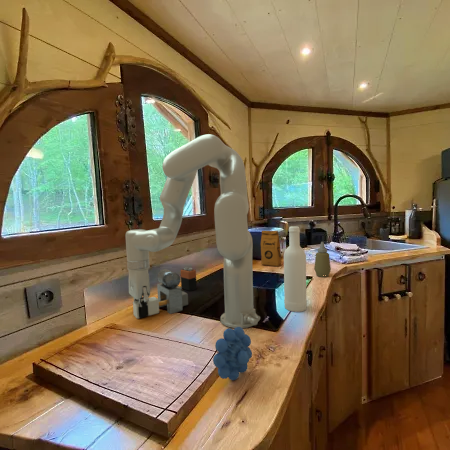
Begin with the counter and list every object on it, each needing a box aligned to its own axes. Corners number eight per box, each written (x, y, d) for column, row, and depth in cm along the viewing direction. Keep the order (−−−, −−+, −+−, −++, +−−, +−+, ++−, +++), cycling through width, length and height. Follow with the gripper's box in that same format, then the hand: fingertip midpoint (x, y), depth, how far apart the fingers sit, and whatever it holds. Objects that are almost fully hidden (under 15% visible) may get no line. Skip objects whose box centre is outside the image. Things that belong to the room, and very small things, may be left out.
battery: (189, 291, 120) (188, 269, 120) (180, 288, 125) (179, 267, 125) (197, 289, 123) (196, 268, 123) (188, 286, 128) (187, 266, 128)
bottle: (287, 302, 103) (285, 225, 100) (308, 305, 99) (307, 225, 97) (282, 310, 95) (280, 227, 93) (304, 313, 92) (303, 227, 90)
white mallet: (188, 304, 104) (187, 292, 103) (137, 318, 92) (136, 304, 92) (183, 301, 107) (183, 289, 107) (133, 315, 95) (132, 301, 95)
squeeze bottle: (313, 277, 136) (313, 242, 135) (314, 273, 144) (314, 240, 143) (330, 278, 133) (330, 243, 132) (330, 274, 141) (330, 240, 139)
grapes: (230, 403, 51) (228, 343, 50) (207, 387, 56) (205, 332, 55) (265, 374, 60) (264, 323, 59) (242, 362, 64) (241, 315, 63)
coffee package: (277, 267, 160) (276, 231, 158) (259, 265, 167) (258, 231, 165) (283, 264, 168) (283, 230, 166) (265, 262, 175) (265, 229, 173)
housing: (183, 310, 99) (181, 272, 98) (169, 314, 95) (167, 275, 94) (170, 302, 108) (168, 267, 107) (157, 305, 104) (155, 269, 103)
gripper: (121, 262, 98) (124, 310, 99) (135, 270, 85) (138, 325, 86) (141, 259, 102) (143, 305, 104) (157, 266, 89) (160, 319, 90)
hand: (141, 314), depth 95 cm, fingers closed on white mallet, 4 cm apart
